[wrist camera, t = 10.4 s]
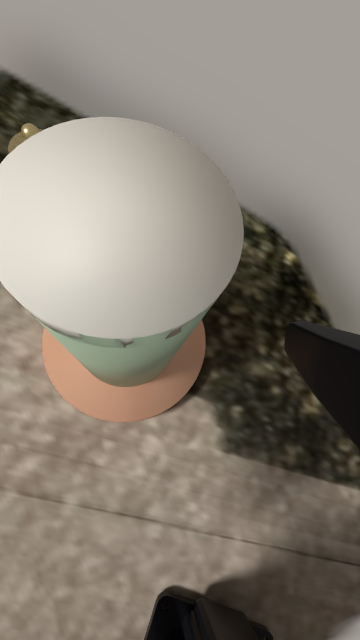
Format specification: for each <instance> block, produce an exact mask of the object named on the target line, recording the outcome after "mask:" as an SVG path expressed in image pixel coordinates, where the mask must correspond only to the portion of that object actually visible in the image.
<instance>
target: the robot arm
mask: <svg viewBox="0 0 360 640" xmlns="http://www.w3.org/2000/svg"><path fill="white" fill-rule="evenodd" d="M284 346H285V351H286V353H287V355H288V356H289V358H290V359H291V361H292V362H293V364H294V366H295V367H296V369H297V370H298V372H299V373H300V375H301V376H302V378H303V379H304V381H305V382H306V384H307V385H308V387H309V388H310V390H311V391H312V392H313V394H314V395H315V396H316V397H317V399H318V400H319V401H320V402H321V404H322V405H323V406H324V407H325V409H326V410H327V411H328V412H329V413H330V415H331V416H332V417H333V418H334V420H335V421H336V422H337V423H338V425H339V426H340V427H341V428H342V429H343V431H344V432H345V433H346V434H347V436H348V437H349V438H350V439H351V440H352V442H353V443H354V444H355V445H356V447H357V448H358V449H359V450H360V335H358V334H354V333H350V332H346V331H342V330H338V329H334V328H330V327H326V326H322V325H318V324H314V323H310V322H306V321H296V322H291V323H289V324H288V325H287V329H286V337H285V345H284ZM164 602H169V603H170V605H169V607H168V608H167V609H163V608H162V607H161V605H162V604H163V603H164ZM262 637H266V640H273V636H272V635H271V633H270V632H269V630H268V629H267V627H265V626H263V625H261V624H258V623H255V622H252V621H249V620H247V618H246V616H245V614H244V613H243V612H241V611H238V610H235V609H232V608H229V607H227V606H224V605H221V604H218V603H215V602H213V601H210V600H207V599H204V598H200V599H198V600H196V601H193V600H191V599H188V598H185V597H182V596H179V595H177V594H174V593H171V592H168V591H164V592H162V593H160V594H159V595H158V597H157V599H156V602H155V605H154V609H153V612H152V615H151V619H150V622H149V625H148V629H147V632H146V635H145V639H144V640H261V638H262Z"/></svg>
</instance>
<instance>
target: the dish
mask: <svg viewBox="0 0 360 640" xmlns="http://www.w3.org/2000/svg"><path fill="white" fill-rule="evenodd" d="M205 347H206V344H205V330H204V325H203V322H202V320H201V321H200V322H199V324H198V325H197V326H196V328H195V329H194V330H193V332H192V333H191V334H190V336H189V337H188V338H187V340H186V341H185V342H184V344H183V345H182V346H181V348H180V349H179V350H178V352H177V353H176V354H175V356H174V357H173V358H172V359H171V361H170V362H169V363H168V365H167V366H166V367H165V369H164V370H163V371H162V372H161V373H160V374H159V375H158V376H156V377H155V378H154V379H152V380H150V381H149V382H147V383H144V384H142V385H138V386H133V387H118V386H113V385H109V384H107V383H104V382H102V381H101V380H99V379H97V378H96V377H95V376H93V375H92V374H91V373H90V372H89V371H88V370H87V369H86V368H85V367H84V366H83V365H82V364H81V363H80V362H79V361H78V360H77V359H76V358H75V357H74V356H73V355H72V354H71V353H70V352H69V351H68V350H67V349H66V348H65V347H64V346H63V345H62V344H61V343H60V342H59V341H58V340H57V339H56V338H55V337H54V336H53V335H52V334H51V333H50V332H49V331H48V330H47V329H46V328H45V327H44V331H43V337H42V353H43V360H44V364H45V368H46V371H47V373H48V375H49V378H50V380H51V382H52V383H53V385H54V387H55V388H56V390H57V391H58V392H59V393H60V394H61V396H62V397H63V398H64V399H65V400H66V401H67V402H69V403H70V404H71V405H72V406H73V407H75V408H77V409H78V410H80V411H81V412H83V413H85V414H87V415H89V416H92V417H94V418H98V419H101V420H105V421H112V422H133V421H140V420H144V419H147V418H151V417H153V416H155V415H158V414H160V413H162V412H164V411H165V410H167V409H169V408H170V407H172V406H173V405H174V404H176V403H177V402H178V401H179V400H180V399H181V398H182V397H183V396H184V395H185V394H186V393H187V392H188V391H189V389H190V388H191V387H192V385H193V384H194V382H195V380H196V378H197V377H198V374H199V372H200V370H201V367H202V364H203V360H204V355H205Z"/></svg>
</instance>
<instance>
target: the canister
mask: <svg viewBox="0 0 360 640" xmlns="http://www.w3.org/2000/svg"><path fill="white" fill-rule="evenodd" d="M243 234H244V229H243V219H242V214H241V210H240V206H239V203H238V200H237V198H236V195H235V193H234V190H233V188H232V187H231V185H230V183H229V181H228V179H227V178H226V177H225V175H224V174H223V173H222V171H221V170H220V168H219V167H218V166H217V165H216V164H215V163H214V162H213V161H212V160H211V159H210V158H209V157H208V156H207V155H206V154H205V153H204V152H202V151H201V150H200V149H199V148H198V147H196V146H194V145H193V144H192V143H191V142H189V141H188V140H186V139H184V138H182V137H181V136H179V135H177V134H175V133H173V132H171V131H169V130H166V129H164V128H162V127H159V126H156V125H153V124H150V123H146V122H142V121H138V120H134V119H126V118H118V117H94V118H84V119H78V120H72V121H68V122H65V123H61V124H58V125H55V126H53V127H50V128H47V129H45V130H43V131H41V132H39V133H37V134H35V135H33V136H32V137H30V138H28V139H27V140H26V141H24V142H23V143H21V144H20V145H18V146H17V147H16V148H15V149H14V150H13V151H12V152H11V153H10V154H9V155H7V157H6V158H5V159H4V160H3V161H2V163H1V164H0V281H1V283H2V284H3V286H4V287H5V288H6V289H7V290H8V291H9V292H10V293H11V294H12V295H13V296H14V297H15V298H16V299H17V301H18V302H20V303H21V304H22V305H23V306H24V307H25V308H26V309H27V310H28V311H29V312H30V313H31V314H32V315H33V316H34V317H35V318H36V319H37V320H38V321H39V322H40V323H41V324H42V325H43V326H44V327H45V328H46V329H47V330H48V331H49V332H50V333H51V334H52V335H53V336H54V337H55V338H56V339H57V340H58V341H59V342H60V343H61V344H62V345H63V346H64V347H65V348H66V349H67V350H68V351H69V352H70V353H71V354H72V355H73V356H74V357H75V358H76V359H77V360H78V361H79V362H80V363H81V364H82V365H83V366H84V367H85V368H86V369H87V370H88V371H89V372H90V373H91V374H92V375H93V376H95V377H96V378H97V379H99V380H101V381H102V382H104V383H107V384H109V385H113V386H118V387H133V386H138V385H142V384H144V383H147V382H149V381H150V380H152V379H154V378H155V377H156V376H158V375H159V374H160V373H161V372H162V371H163V370H164V369H165V367H166V366H167V365H168V363H169V362H170V361H171V359H172V358H173V357H174V356H175V354H176V353H177V352H178V350H179V349H180V348H181V346H182V345H183V344H184V342H185V341H186V340H187V338H188V337H189V336H190V334H191V333H192V332H193V330H194V329H195V328H196V326H197V325H198V324H199V322H200V321H201V320H202V318H203V317H204V316H205V314H206V313H207V312H208V310H209V309H210V308H211V306H212V305H213V304H214V302H215V301H216V300H217V298H218V297H219V296H220V294H221V293H222V292H223V290H224V289H225V288H226V286H227V285H228V284H229V282H230V280H231V278H232V276H233V275H234V273H235V271H236V268H237V265H238V263H239V260H240V257H241V252H242V247H243Z"/></svg>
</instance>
